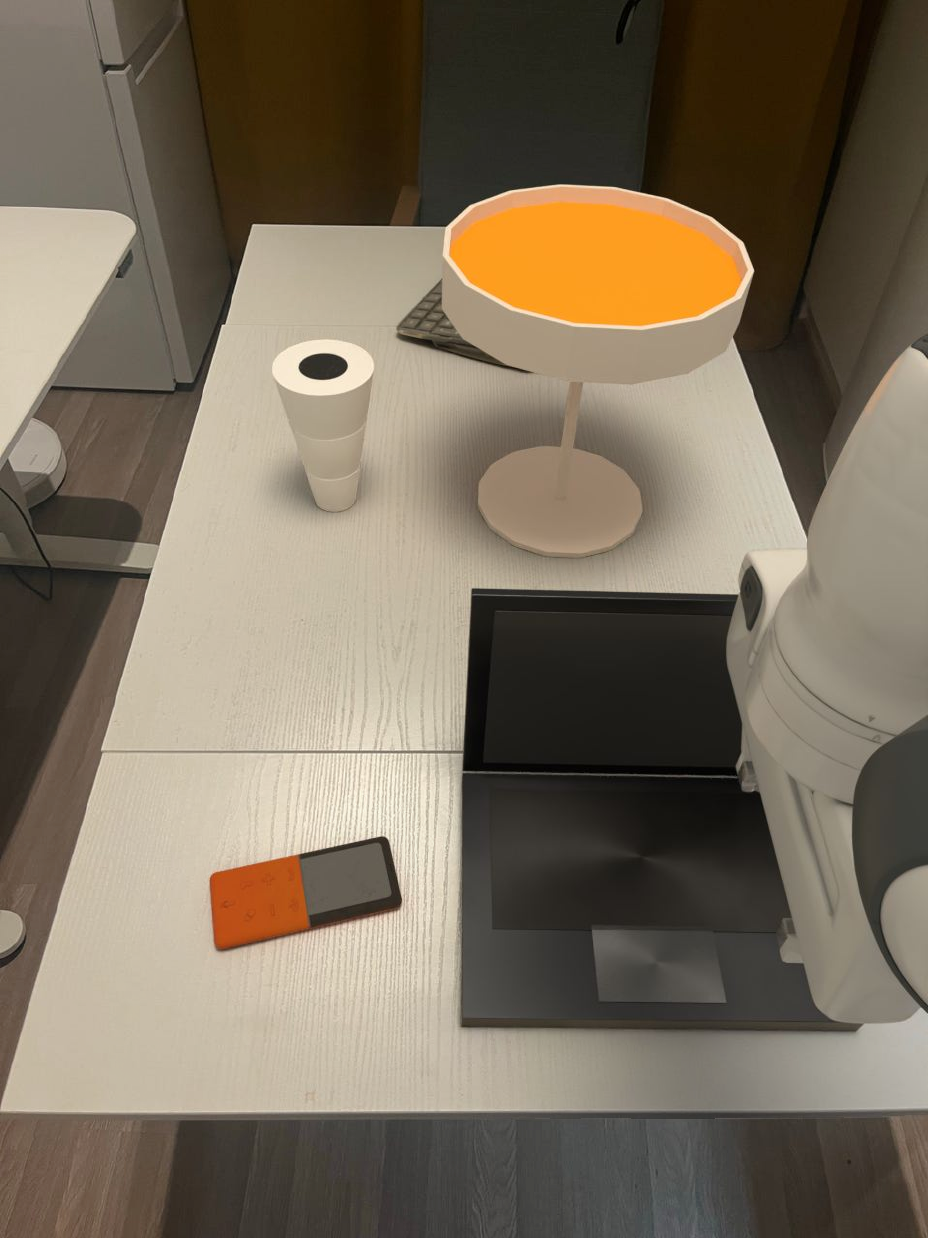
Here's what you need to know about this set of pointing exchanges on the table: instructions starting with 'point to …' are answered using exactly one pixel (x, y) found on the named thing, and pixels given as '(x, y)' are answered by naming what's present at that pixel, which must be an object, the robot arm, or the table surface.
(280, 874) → the phone
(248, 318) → the table surface
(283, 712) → the table surface
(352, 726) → the table surface
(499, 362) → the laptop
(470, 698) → the notebook screen
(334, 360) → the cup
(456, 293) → the cream stemmed bowl
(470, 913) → the notebook
